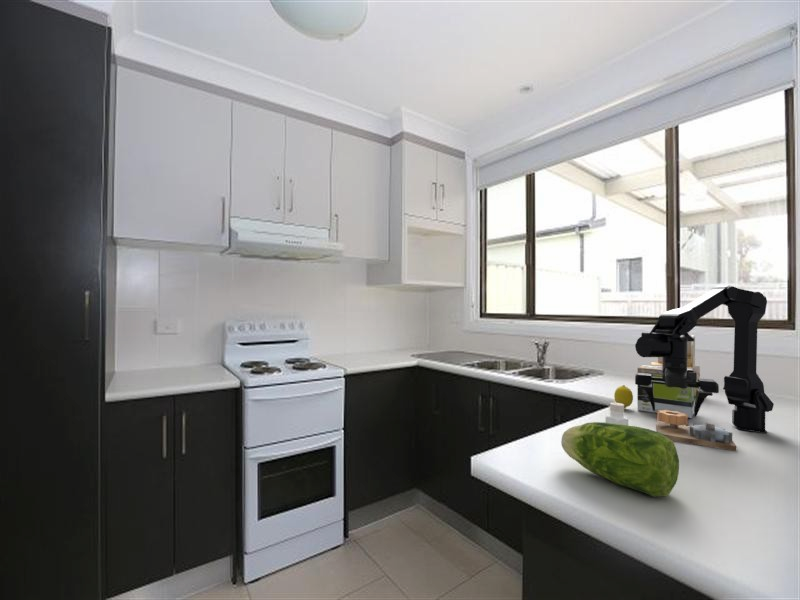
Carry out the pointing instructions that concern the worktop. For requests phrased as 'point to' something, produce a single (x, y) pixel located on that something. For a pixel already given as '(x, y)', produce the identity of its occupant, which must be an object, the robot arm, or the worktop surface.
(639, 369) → the tea box
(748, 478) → the worktop surface
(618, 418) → the pepper shaker
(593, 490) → the worktop surface
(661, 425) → the gear board
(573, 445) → the lettuce
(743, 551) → the worktop surface
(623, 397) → the lemon
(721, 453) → the worktop surface
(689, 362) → the cream block pieces
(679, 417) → the gear
